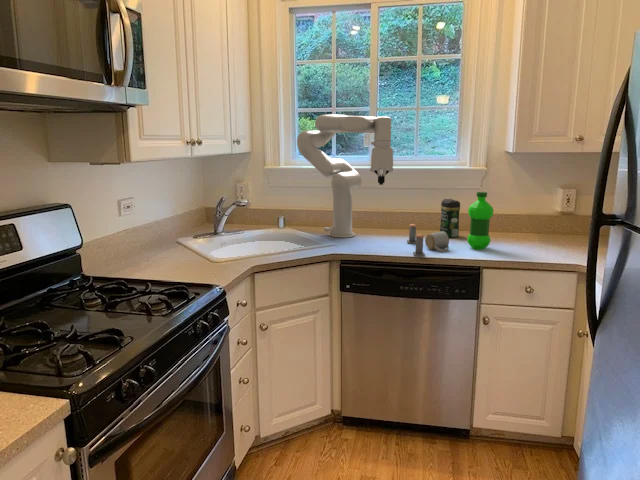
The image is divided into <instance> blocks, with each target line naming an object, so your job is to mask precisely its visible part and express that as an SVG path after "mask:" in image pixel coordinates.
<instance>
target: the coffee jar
mask: <svg viewBox="0 0 640 480" xmlns="http://www.w3.org/2000/svg"><path fill="white" fill-rule="evenodd" d="M440 211H441V213H440V227H439V232H441V231H444V232H445V233H446V234H447V235H448V238H449V239H450V238H451V239H453V238H454V239H456V238H458V237H459V235H460V234H459V233H460V229H459V228H460V226H459V225H460V211H461V202H460V201H459V200H456V199H453V198H443V200H441V204H440Z"/></svg>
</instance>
